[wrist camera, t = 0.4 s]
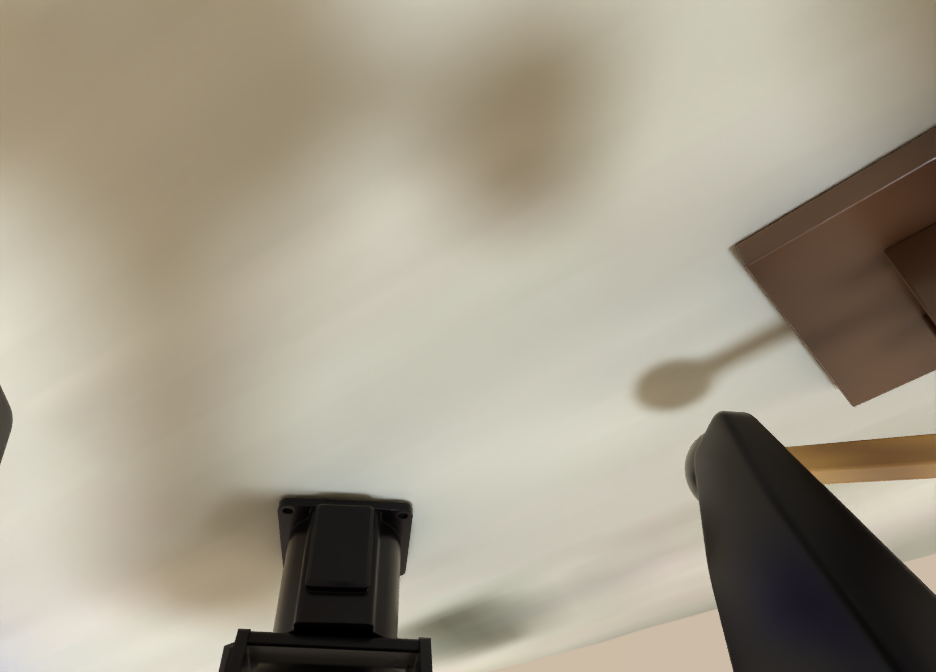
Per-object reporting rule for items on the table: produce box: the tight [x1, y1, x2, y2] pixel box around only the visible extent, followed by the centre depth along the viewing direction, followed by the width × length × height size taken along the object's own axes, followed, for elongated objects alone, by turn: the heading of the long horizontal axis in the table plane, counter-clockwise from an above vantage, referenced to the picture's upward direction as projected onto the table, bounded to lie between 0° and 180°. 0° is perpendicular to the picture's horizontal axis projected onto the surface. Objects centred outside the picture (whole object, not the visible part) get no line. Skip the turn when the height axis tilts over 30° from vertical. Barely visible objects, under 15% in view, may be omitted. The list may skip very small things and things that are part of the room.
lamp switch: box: [685, 433, 936, 501], centre depth 23 cm, size 14×3×3 cm, turn 131°
